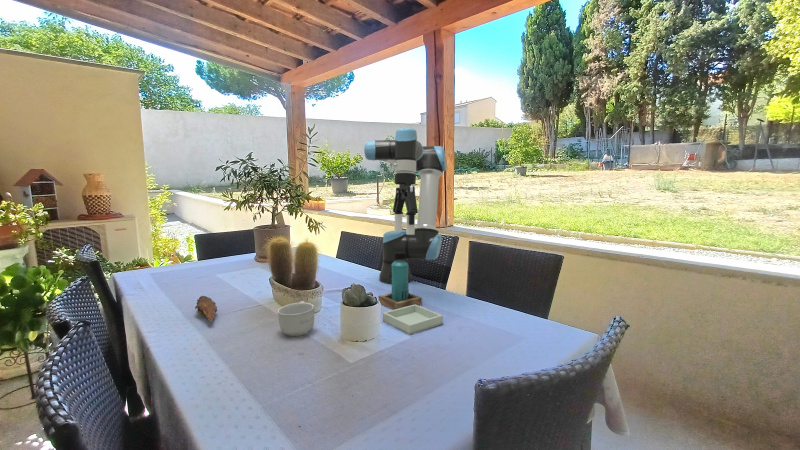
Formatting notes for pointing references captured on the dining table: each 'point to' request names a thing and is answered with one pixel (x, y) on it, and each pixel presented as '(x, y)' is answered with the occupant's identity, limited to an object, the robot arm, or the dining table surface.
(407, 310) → the tray
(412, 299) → the socket block
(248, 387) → the dining table surface
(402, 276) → the beverage bottle
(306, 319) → the teacup
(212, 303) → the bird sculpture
